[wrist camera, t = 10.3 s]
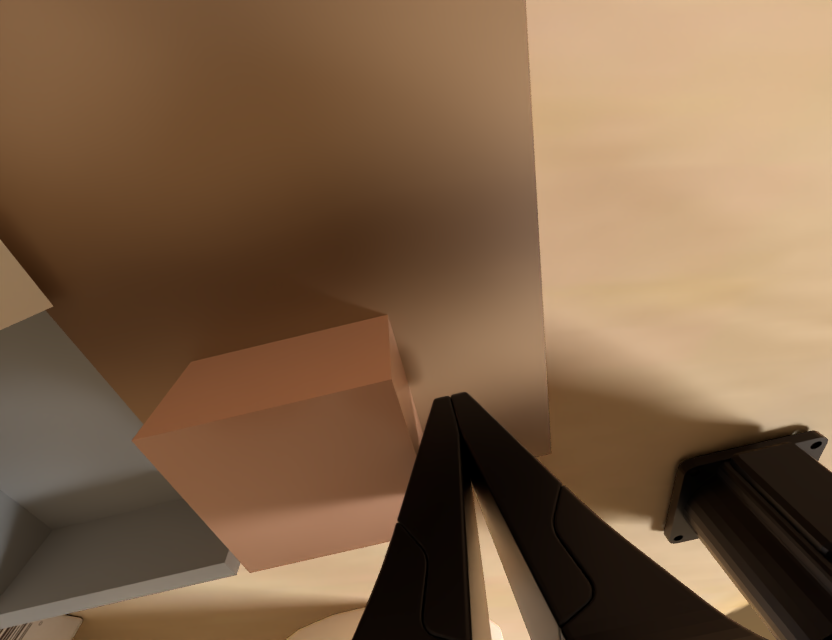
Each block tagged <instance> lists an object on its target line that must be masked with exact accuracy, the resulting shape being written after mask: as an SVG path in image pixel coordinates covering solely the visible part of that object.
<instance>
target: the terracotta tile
mask: <svg viewBox="0 0 832 640" xmlns="http://www.w3.org/2000/svg"><path fill="white" fill-rule="evenodd" d="M422 436H423V432H422V428H421V425H420V422H419V418H418V415H417V411H416V408H415V405H414V401H413V398H412V395H411V391H410V388H409V385H408V381H407V378H406V374H405V371H404V368H403V364H402V361H401V358H400V354H399V351H398V348H397V344H396V341H395V337H394V334H393V331H392V327H391V324H390V321H389V317H388V315H384V316H379V317H375V318H371V319H367V320H363V321H359V322H354V323H350V324H346V325H342V326H338V327H334V328H330V329H325V330H321V331H317V332H313V333H309V334H305V335H300V336H296V337H292V338H288V339H284V340H280V341H275V342H271V343H267V344H263V345H259V346H255V347H251V348H246V349H242V350H238V351H234V352H230V353H226V354H221V355H217V356H213V357H209V358H205V359H201V360H197V361H192V362H190V364H189V365H188V366H187V368H186V369H185V370H184V372H183V373H182V374H181V376H180V377H179V378H178V380H177V381H176V382H175V384H174V385H173V386H172V388H171V389H170V390H169V392H168V393H167V394H166V396H165V397H164V398H163V399H162V401H161V402H160V403H159V405H158V406H157V407H156V409H155V410H154V411H153V413H152V414H151V415H150V417H149V418H148V419H147V421H146V422H145V423H144V425H143V426H142V427H141V429H140V430H139V431H138V433H137V434H136V435H135V437H134V438H133V439H132V442H133V443H134V444H135V445H136V446H137V448H138V449H139V450H140V451H141V452H142V453H143V454H144V455H145V456H146V458H147V459H148V460H149V461H150V462H151V463H152V464H153V465H154V466H155V468H156V469H157V470H158V471H159V472H160V473H161V474H162V475H163V477H164V478H165V479H166V480H167V481H168V482H169V483H170V484H171V485H172V487H173V488H174V489H175V490H176V491H177V492H178V493H179V494H180V496H181V497H182V498H183V499H184V500H185V501H186V502H187V503H188V504H189V506H190V507H191V508H192V509H193V510H194V511H195V512H196V513H197V514H198V516H199V517H200V518H201V519H202V520H203V521H204V522H205V523H206V525H207V526H208V527H209V528H210V529H211V530H212V531H213V532H214V533H215V535H216V536H217V537H218V538H219V539H220V540H221V541H222V542H223V544H224V545H225V546H226V547H227V548H228V549H229V550H230V551H231V552H232V554H233V555H234V556H235V557H236V558H237V559H238V560H239V561H240V562H241V564H242V565H243V566H244V567H245V568H246V569H247V570H248V571H249V573H252V572H256V571H261V570H265V569H269V568H274V567H278V566H283V565H287V564H292V563H296V562H300V561H305V560H309V559H314V558H318V557H323V556H327V555H332V554H336V553H340V552H345V551H349V550H354V549H358V548H363V547H367V546H371V545H376V544H380V543H385V542H389V541H391V538H392V534H393V531H394V528H395V525H396V523H398V522H397V518H398V515H399V512H400V509H401V505H402V502H403V499H404V495H405V492H406V489H407V485H408V482H409V479H410V476H411V472H412V469H413V466H414V462H415V459H416V456H417V452H418V449H419V446H420V443H421V439H422Z"/></svg>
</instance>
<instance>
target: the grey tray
mask: <svg viewBox="0 0 832 640" xmlns="http://www.w3.org/2000/svg"><path fill="white" fill-rule="evenodd" d="M143 425H144V424H143V423H142V422H141V421H140V420H139V419H138V417H137V416H136V415H135V414H134V413H133V412H132V410H131V409H130V408H129V407H128V406H127V405H126V403H125V402H124V401H123V400H122V399H121V398H120V396H119V395H118V394H117V393H116V392H115V391H114V389H113V388H112V387H111V386H110V385H109V384H108V382H107V381H106V380H105V379H104V378H103V377H102V375H101V374H100V373H99V372H98V371H97V370H96V368H95V367H94V366H93V365H92V364H91V363H90V362H89V360H88V359H87V358H86V357H85V356H84V355H83V353H82V352H81V351H80V350H79V349H78V348H77V346H76V345H75V344H74V343H73V342H72V341H71V339H70V338H69V337H68V336H67V335H66V334H65V332H64V331H63V330H62V329H61V328H60V327H59V325H58V324H57V323H56V322H55V321H54V320H53V318H52V317H51V316H50V315H49V314H48V313H47V311H46V310H44V311H42V312H40V313H38V314H35V315H33V316H31V317H29V318H26V319H24V320H22V321H20V322H17V323H15V324H13V325H11V326H9V327H6V328H4V329H2V330H0V629H4V628H8V627H12V626H17V625H21V624H25V623H30V622H34V621H38V620H43V619H47V618H51V617H56V616H60V615H65V614H69V613H73V612H78V611H82V610H86V609H91V608H95V607H99V606H104V605H108V604H112V603H117V602H121V601H125V600H130V599H134V598H138V597H143V596H147V595H151V594H156V593H160V592H165V591H169V590H173V589H178V588H182V587H186V586H191V585H195V584H199V583H204V582H208V581H212V580H217V579H221V578H225V577H230V576H234V575H237V572H238V569H239V565H240V561H239V560H238V559H237V558H236V557H235V556H234V555H233V554H232V552H231V551H230V550H229V549H228V548H227V547H226V546H225V545H224V544H223V542H222V541H221V540H220V539H219V538H218V537H217V536H216V535H215V533H214V532H213V531H212V530H211V529H210V528H209V527H208V526H207V525H206V523H205V522H204V521H203V520H202V519H201V518H200V517H199V516H198V514H197V513H196V512H195V511H194V510H193V509H192V508H191V507H190V506H189V504H188V503H187V502H186V501H185V500H184V499H183V498H182V497H181V496H180V494H179V493H178V492H177V491H176V490H175V489H174V488H173V487H172V485H171V484H170V483H169V482H168V481H167V480H166V479H165V478H164V477H163V475H162V474H161V473H160V472H159V471H158V470H157V469H156V468H155V466H154V465H153V464H152V463H151V462H150V461H149V460H148V459H147V458H146V456H145V455H144V454H143V453H142V452H141V451H140V450H139V449H138V448H137V446H136V445H135V444H134V443H133V442H132V439H133V438H134V437H135V435H136V434H137V433H138V431H139V430H140V429H141V427H142V426H143Z"/></svg>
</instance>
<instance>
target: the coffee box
mask: <svg viewBox="0 0 832 640" xmlns="http://www.w3.org/2000/svg"><path fill="white" fill-rule="evenodd" d="M81 623H82V619H81V618H78V617H73V616H68V615H60V616H56V617H51V618H47V619H43V620H38V621H34V622H30V623H25V624H21V625H17V626H12V627H8V628H4V629H0V640H72V639H73V637H74V636H75V634H76V632H77V631H78V629H79V627H80V625H81Z"/></svg>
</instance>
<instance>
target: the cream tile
mask: <svg viewBox="0 0 832 640" xmlns="http://www.w3.org/2000/svg"><path fill="white" fill-rule="evenodd" d="M51 307H53V305H52V304H51V303H50V301H49V300H48V299H47V298H46V296H45V295H44V294H43V293H42V291H41V290H40V289H39V287H38V286H37V285H36V284H35V282H34V281H33V280H32V279H31V277H30V276H29V275H28V274H27V272H26V271H25V270H24V269H23V267H22V266H21V265H20V264H19V262H18V261H17V260H16V259H15V257H14V256H13V255H12V254H11V252H10V251H9V250H8V249H7V247H6V246H5V245H4V244H3V242H2V241H1V240H0V330H2V329H4V328H6V327H9V326H11V325H13V324H15V323H17V322H20V321H22V320H24V319H26V318H29V317H31V316H33V315H35V314H38V313H40V312H42V311H44V310H46V309H49V308H51Z"/></svg>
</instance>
